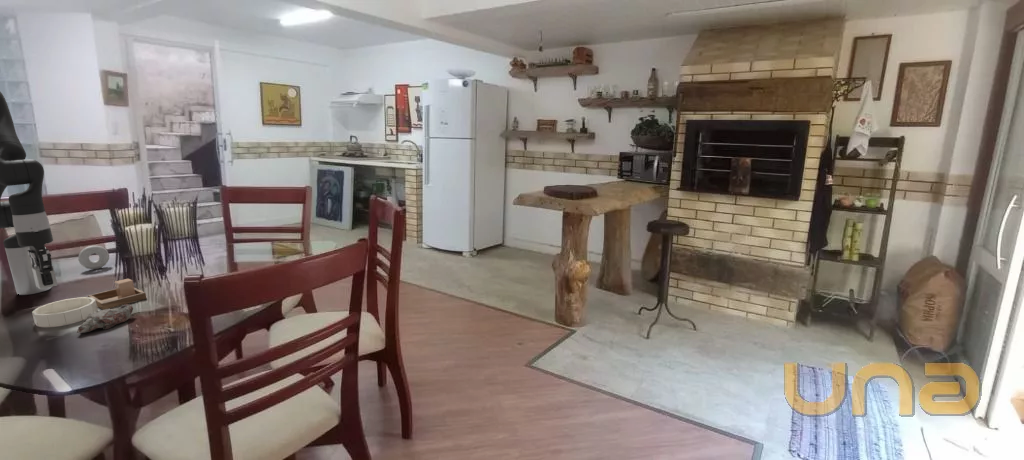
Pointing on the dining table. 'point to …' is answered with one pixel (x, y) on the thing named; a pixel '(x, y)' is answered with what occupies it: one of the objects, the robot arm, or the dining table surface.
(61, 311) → the cream bowl
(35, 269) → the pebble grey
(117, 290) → the tan block
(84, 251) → the donut
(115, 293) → the walnut tray
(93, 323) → the mineral rock
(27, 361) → the dining table surface
